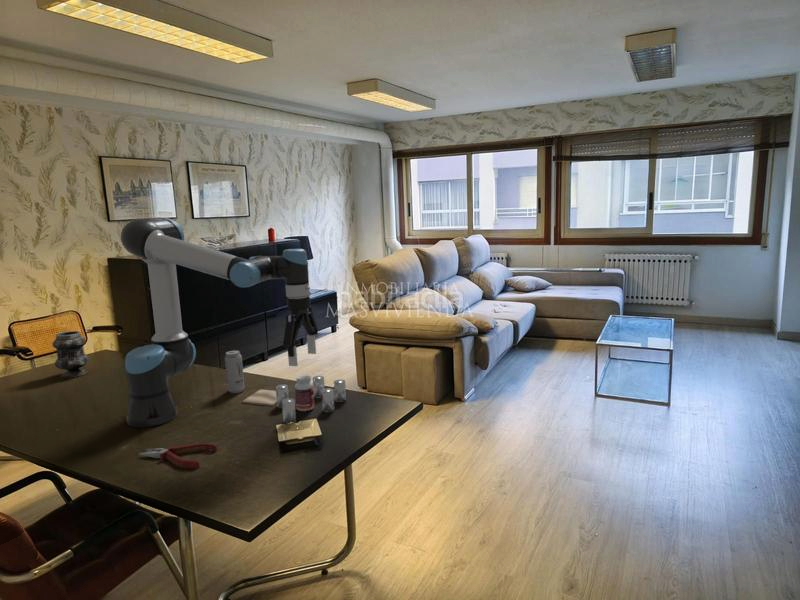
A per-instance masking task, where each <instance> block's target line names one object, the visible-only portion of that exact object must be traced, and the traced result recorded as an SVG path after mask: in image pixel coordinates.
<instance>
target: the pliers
mask: <svg viewBox="0 0 800 600" xmlns="http://www.w3.org/2000/svg"><path fill="white" fill-rule="evenodd" d="M145 451H146V452H141V453H139V456H144V457H150V458H155V459H160V461H161V462H164V461H166V460H167V461H168V462H170V463H172V464H173V465H175V466H176V467H177V468H181V469H194V470H195V469H198V468H200V462H199V461H198V460H197V459H185V458H182V457H181V456H178V455H182V454H183V455H184V454H188V453H189V454H190V453H194V452H195V453H196V452H202V451H204V452H217V451H218V446H217V444H215V443H210V442H209V443H207V442H206V443H204V442H202V443H201V442H200V443H193V444H188V445H187V444H186V445H182V446H175V445H171V446H170V447H168V448H161V447H159V448H147V449H145Z"/></svg>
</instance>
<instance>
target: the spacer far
mask: <svg viewBox="0 0 800 600" xmlns="http://www.w3.org/2000/svg"><path fill="white" fill-rule="evenodd" d="M312 383H313V388H314V397H322V394H321V390H323V389H326V388H325V376H323V375H314V376H313V377H312Z"/></svg>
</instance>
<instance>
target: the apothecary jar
mask: <svg viewBox="0 0 800 600" xmlns="http://www.w3.org/2000/svg"><path fill="white" fill-rule="evenodd" d="M55 336H56V337H55V339H54V340H53V341H52V344H51V345H52V347H53V348H54V349H56V355H57V359H56V360H55V361H54V366H55V367H56V368H57V369H59V370H63V371H64V370H65V371H64V372H63V373H61V374H60V376H59V378H61V379H74V378H77V376H78V377H81V375H82V376H84V375H86V374H87V373H88V370H87V369H83V368H82V367H84V366H86V365H87V364H88V363H89V356H87V354H85V348H84V345H85V343H87V340H86V338H85V337H84V336H83V335H82V334H81V332H80V331H79V330H71V331H70V330H69V331H62V332H58V333H56V335H55Z"/></svg>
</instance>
